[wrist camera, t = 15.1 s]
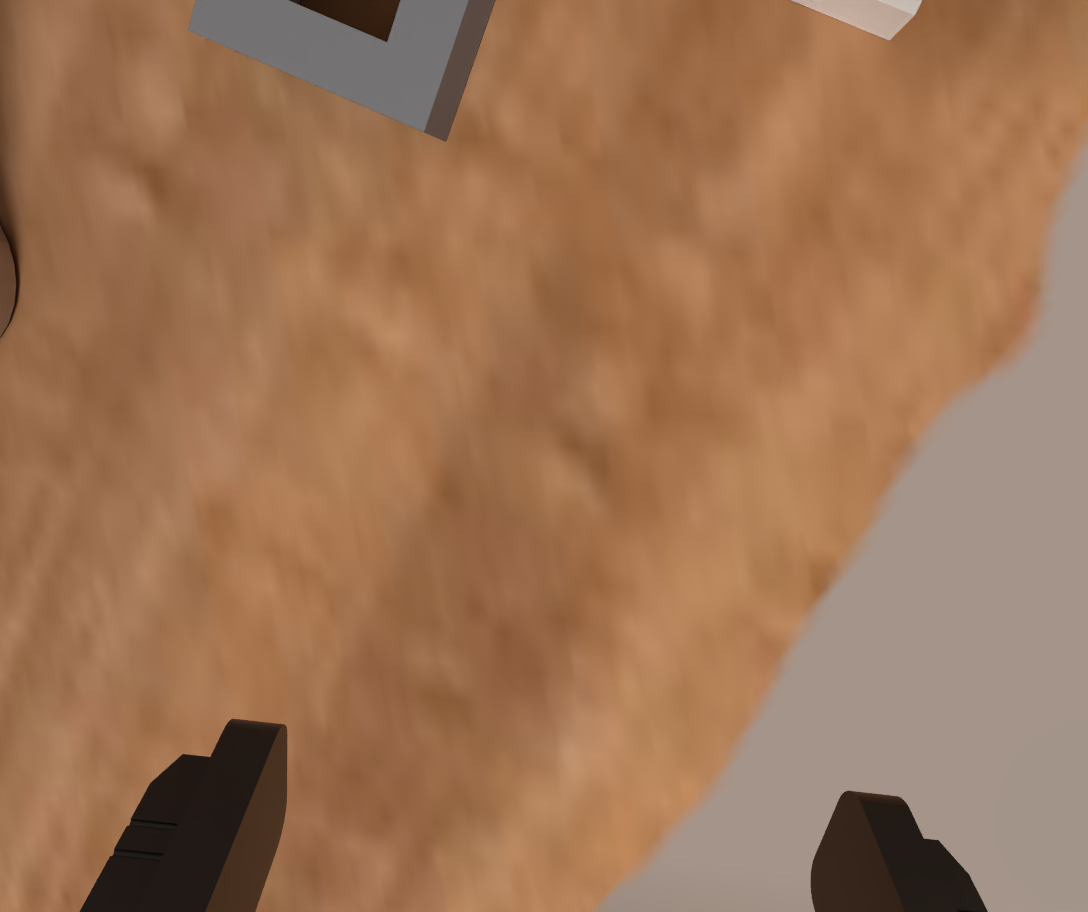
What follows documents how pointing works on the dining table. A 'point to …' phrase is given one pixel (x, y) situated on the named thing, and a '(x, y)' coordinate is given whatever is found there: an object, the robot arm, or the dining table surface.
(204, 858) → the robot arm
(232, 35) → the socket block
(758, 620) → the dining table surface
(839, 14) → the tray
